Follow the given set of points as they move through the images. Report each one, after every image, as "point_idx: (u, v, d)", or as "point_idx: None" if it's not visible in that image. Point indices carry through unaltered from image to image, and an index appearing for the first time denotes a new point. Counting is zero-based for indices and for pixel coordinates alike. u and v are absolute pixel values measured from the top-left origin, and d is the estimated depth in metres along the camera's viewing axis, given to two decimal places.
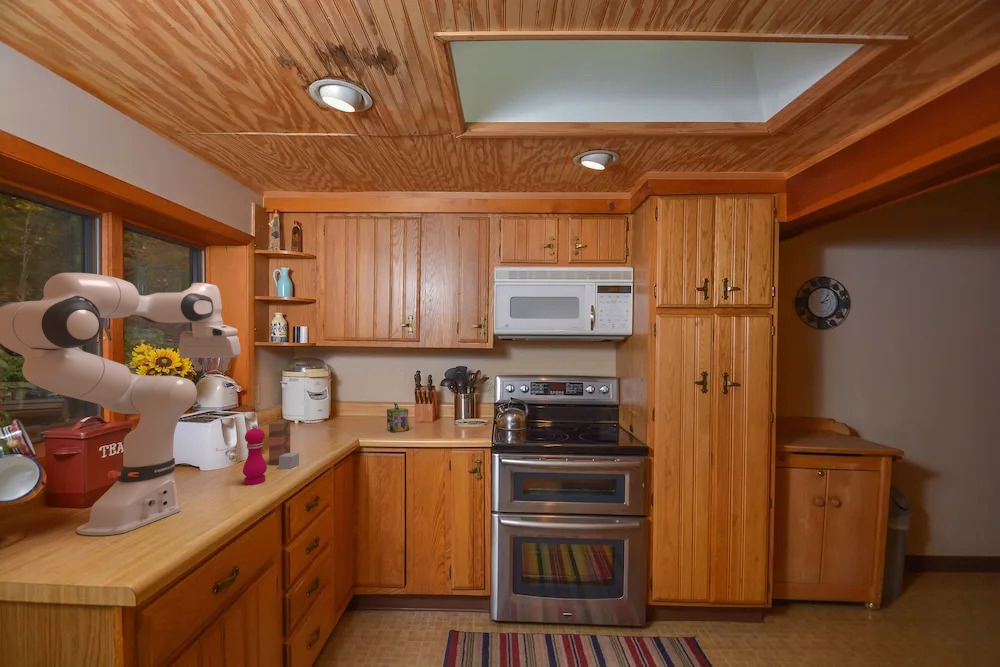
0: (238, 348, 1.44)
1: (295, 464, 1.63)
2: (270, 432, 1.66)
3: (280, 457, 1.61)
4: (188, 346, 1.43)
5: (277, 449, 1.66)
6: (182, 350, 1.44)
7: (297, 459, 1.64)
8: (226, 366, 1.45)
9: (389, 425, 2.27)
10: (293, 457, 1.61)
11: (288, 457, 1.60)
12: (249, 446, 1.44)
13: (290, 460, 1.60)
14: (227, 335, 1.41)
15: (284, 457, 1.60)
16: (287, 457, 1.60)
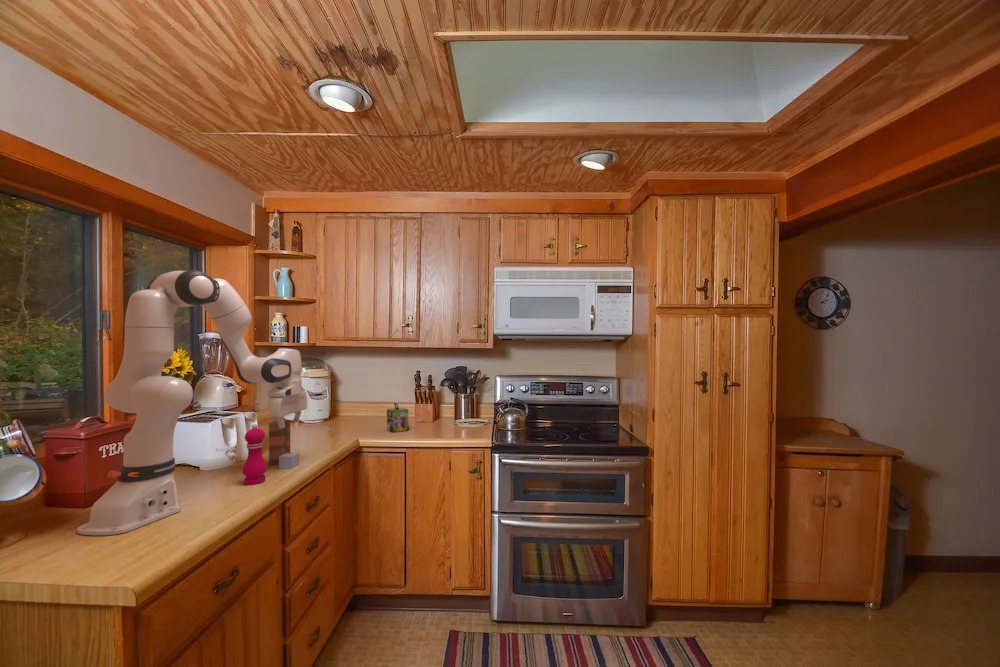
0: (275, 410, 1.53)
1: (295, 464, 1.63)
2: (270, 432, 1.66)
3: (280, 457, 1.61)
4: None
5: (277, 449, 1.66)
6: None
7: (297, 459, 1.64)
8: (281, 424, 1.58)
9: (389, 425, 2.27)
10: (293, 457, 1.61)
11: (288, 457, 1.60)
12: (249, 446, 1.44)
13: (290, 460, 1.60)
14: (271, 396, 1.55)
15: (284, 457, 1.60)
16: (287, 457, 1.60)
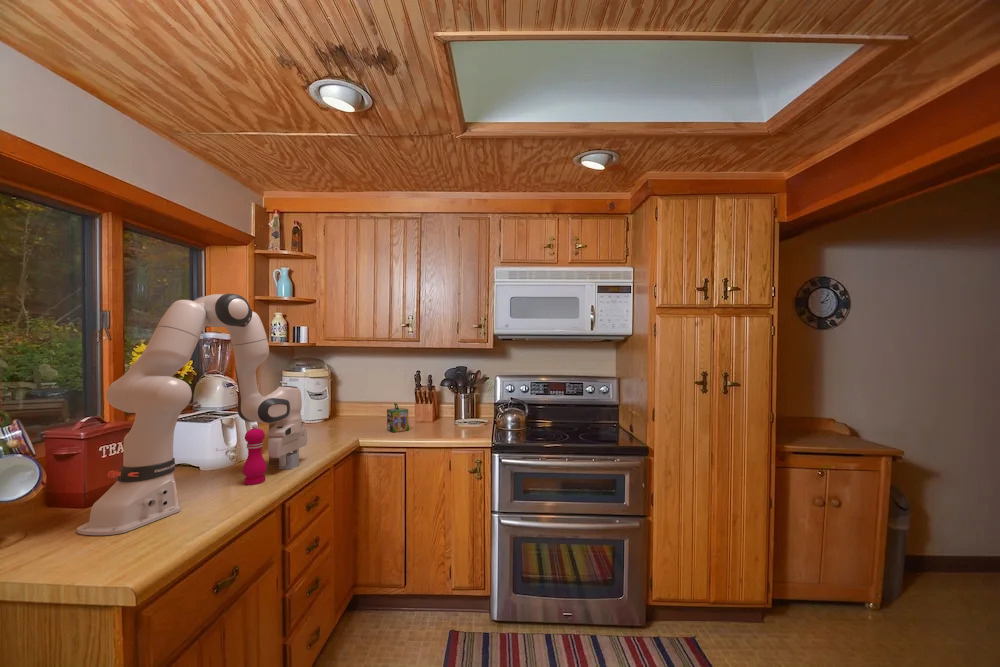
0: (275, 450, 1.53)
1: (295, 464, 1.63)
2: None
3: None
4: None
5: None
6: None
7: (297, 459, 1.64)
8: (284, 462, 1.59)
9: (389, 425, 2.27)
10: (293, 457, 1.61)
11: (288, 457, 1.60)
12: (249, 446, 1.44)
13: (290, 460, 1.60)
14: None
15: None
16: (287, 457, 1.60)
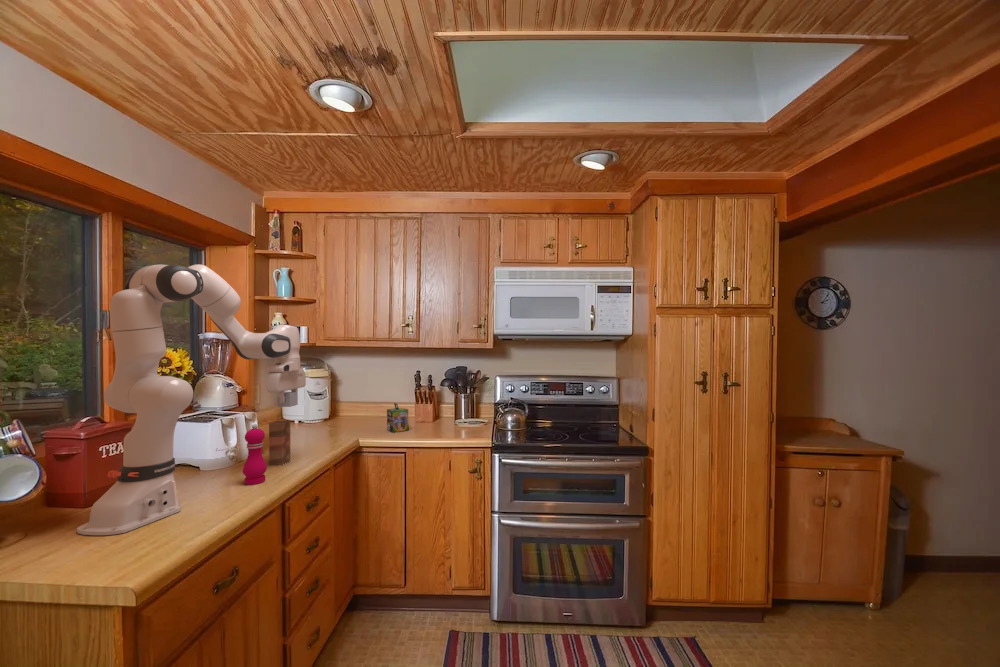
0: (273, 385, 1.54)
1: (294, 402, 1.64)
2: (270, 432, 1.66)
3: None
4: None
5: (277, 449, 1.66)
6: None
7: (295, 398, 1.65)
8: (282, 399, 1.60)
9: (389, 425, 2.27)
10: (292, 395, 1.63)
11: (287, 394, 1.62)
12: (249, 446, 1.44)
13: (289, 397, 1.62)
14: (269, 371, 1.56)
15: None
16: (286, 394, 1.62)
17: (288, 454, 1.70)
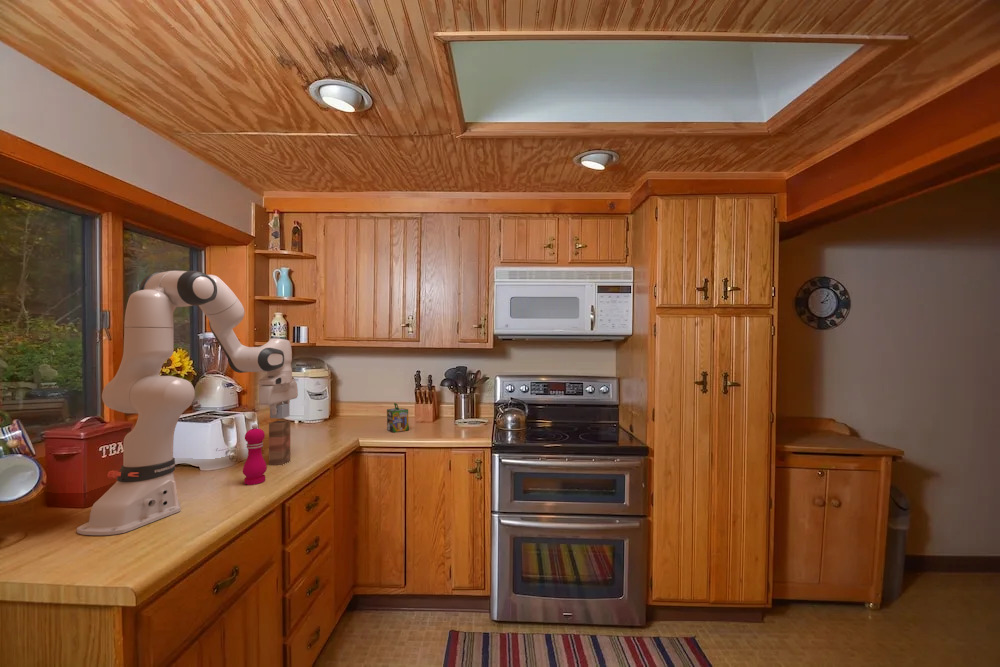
0: (265, 397, 1.59)
1: (286, 414, 1.69)
2: (270, 432, 1.66)
3: None
4: None
5: (277, 449, 1.66)
6: None
7: (287, 409, 1.70)
8: (274, 411, 1.65)
9: (389, 425, 2.27)
10: (283, 406, 1.67)
11: (279, 406, 1.66)
12: (249, 446, 1.44)
13: (281, 409, 1.66)
14: (261, 384, 1.61)
15: None
16: (278, 406, 1.66)
17: (288, 454, 1.70)
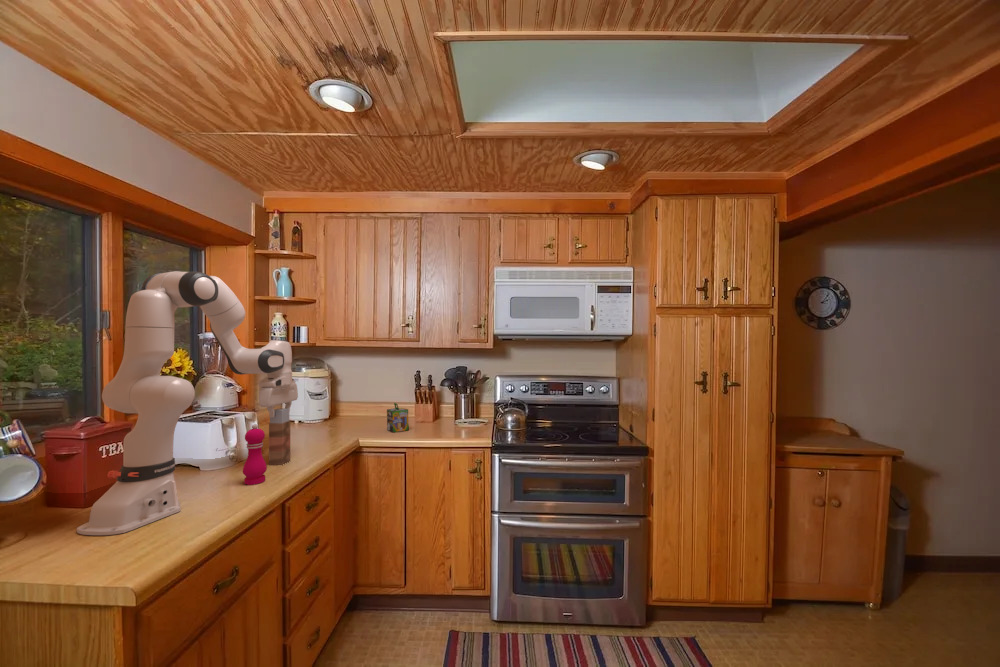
0: (265, 399, 1.59)
1: (285, 418, 1.69)
2: (270, 432, 1.66)
3: None
4: None
5: (277, 449, 1.66)
6: None
7: (287, 414, 1.70)
8: (272, 413, 1.63)
9: (389, 425, 2.27)
10: (283, 411, 1.67)
11: (278, 411, 1.66)
12: (249, 446, 1.44)
13: (280, 414, 1.66)
14: (261, 386, 1.61)
15: (275, 411, 1.66)
16: (278, 411, 1.66)
17: (288, 454, 1.70)
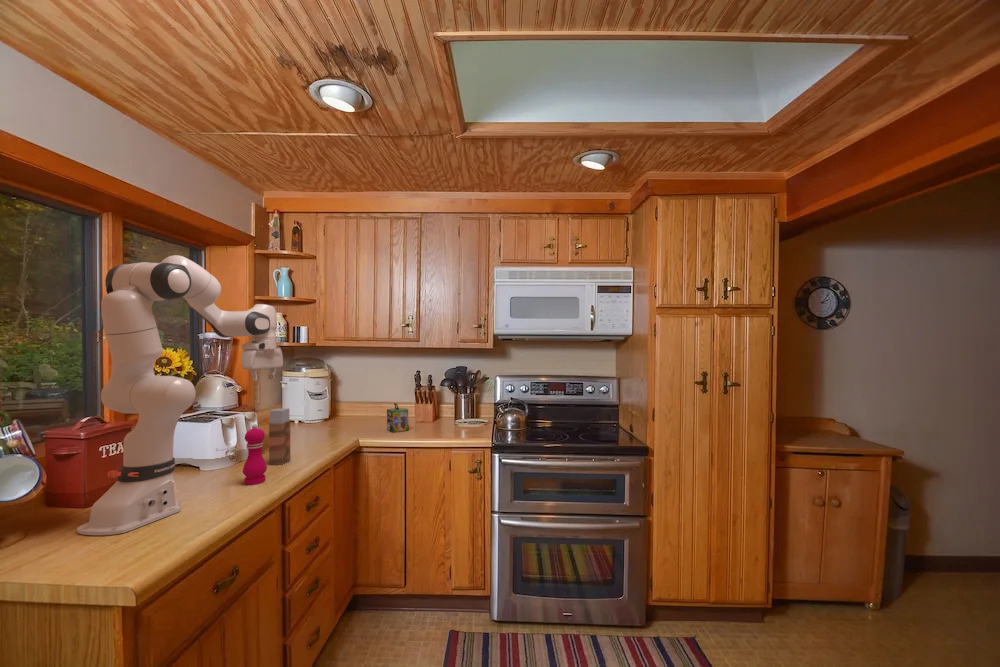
0: (248, 361, 1.58)
1: (285, 418, 1.69)
2: (270, 432, 1.66)
3: (271, 411, 1.66)
4: None
5: (277, 449, 1.66)
6: None
7: (287, 414, 1.70)
8: (255, 377, 1.62)
9: (389, 425, 2.27)
10: (283, 411, 1.67)
11: (278, 411, 1.66)
12: (249, 446, 1.44)
13: (280, 414, 1.66)
14: (244, 349, 1.60)
15: (275, 411, 1.66)
16: (278, 411, 1.66)
17: (288, 454, 1.70)
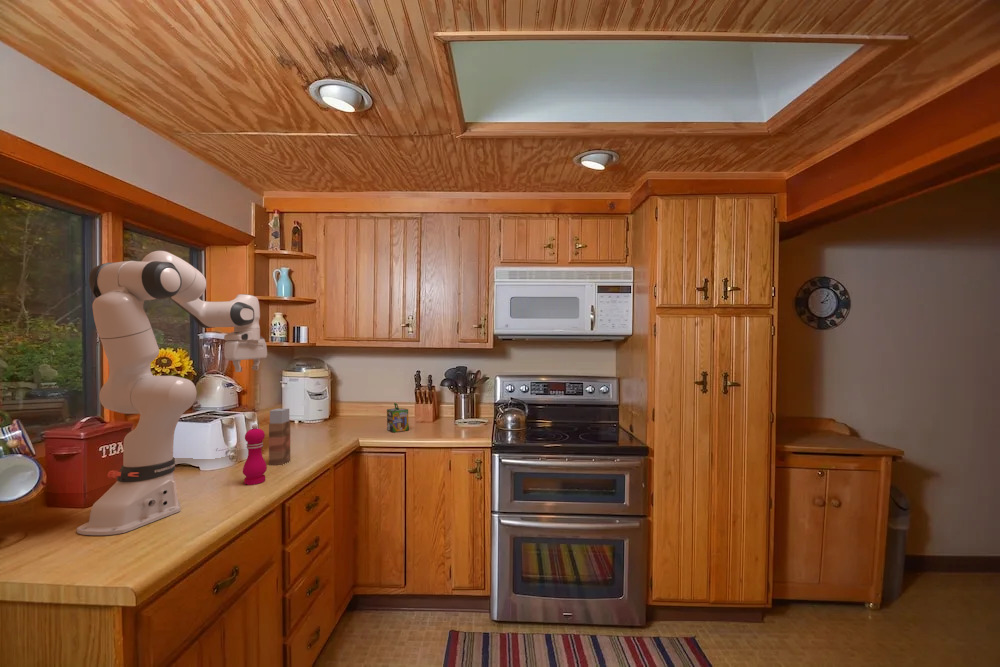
0: (231, 352, 1.56)
1: (285, 419, 1.69)
2: (270, 432, 1.66)
3: (271, 411, 1.66)
4: None
5: (277, 449, 1.66)
6: None
7: (287, 414, 1.70)
8: (238, 368, 1.61)
9: (389, 425, 2.27)
10: (283, 411, 1.67)
11: (278, 411, 1.66)
12: (249, 446, 1.44)
13: (280, 414, 1.66)
14: (227, 340, 1.58)
15: (275, 411, 1.66)
16: (278, 411, 1.66)
17: (288, 454, 1.70)
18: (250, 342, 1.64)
